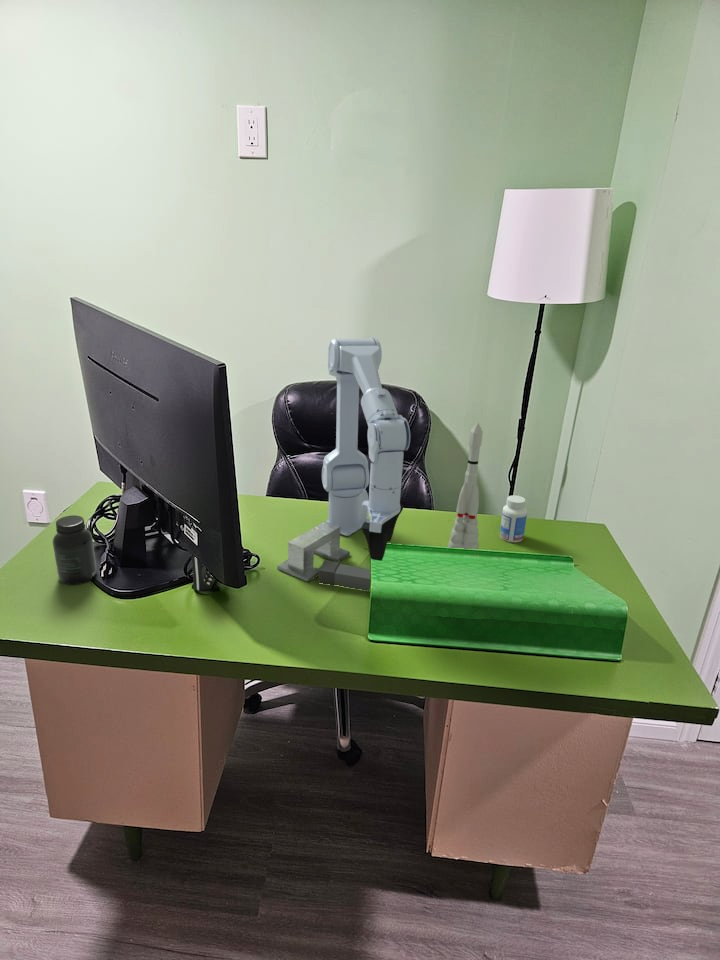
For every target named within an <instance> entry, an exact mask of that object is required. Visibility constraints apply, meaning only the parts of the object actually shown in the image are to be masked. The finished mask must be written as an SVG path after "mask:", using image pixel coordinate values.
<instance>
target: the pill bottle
mask: <svg viewBox="0 0 720 960" xmlns="http://www.w3.org/2000/svg"><path fill="white" fill-rule="evenodd" d="M525 506H526V499H525V497H523V496H521V495H516V494H515V495H509V496H507V498H506V504H505V505H504V506H503V508H502V513H501V519H500V520H501V521H500V527H499V528H500V530H499V537H500V538H501V540H503V541H505V542H508V543H520V542H522V541H523V540H524V536H525V532H526V531H525V530H526V522H527V516H528V510H527V508H526V507H525Z"/></svg>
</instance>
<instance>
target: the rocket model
mask: <svg viewBox="0 0 720 960" xmlns="http://www.w3.org/2000/svg"><path fill="white" fill-rule="evenodd" d="M483 433H484V432H483V430H482V428H481V426H480V423H479V422H477V423H476V424H475V425H474V426H473V427H472V428H471V430H470V433H469V434H470V435H469V442H468V446H469V450H468V460H467V468H466V471H465V474H464V481H463V485H462V487H461V489H460V492H459V496H458V500H457V505H456V510H455V512H456V513H457V514H456V515H457V516H456V517H455V521H454V522H453V527H452V530H451V533H450V535H449V538H450V539H449V541H448V545H447V548H448V547H449V548H464V549H477V550H478V548H479V545H480V544H479V540H478V537H479V535H480V534H479V529H478V525H479V521H478V518H477V517H478V511H479V508H480V507H479V505H480V504H479V503H480V502H479V501H480V499H479V498H480V490H479V487H478V476H479V472H478V467H479V457H480V450H481V445H482V441H483Z"/></svg>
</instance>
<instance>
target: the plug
mask: <svg viewBox="0 0 720 960" xmlns="http://www.w3.org/2000/svg"><path fill="white" fill-rule="evenodd" d="M318 569H319V576H318V584H319V583H323V584H330V585H339V586H344V587H349V588H355V589H362V590H366V591H367V590H368V591H369V589H370V569H371V568H366V567H360V566H353V565H349V564H341V563H340V562H335V561H332V560H328V559H327V560H326V559H325V560H324V561H323V562H322V564H321V566H320V567H319V568H318Z"/></svg>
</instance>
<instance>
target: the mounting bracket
mask: <svg viewBox="0 0 720 960" xmlns="http://www.w3.org/2000/svg"><path fill="white" fill-rule="evenodd" d="M326 521H327V520H325V521H323V522H321V523H320V524H317V525H316V526H314V527H312V528H310V529H309V530H307V531H305V532H303V533H301V534H300V535H298V536H297V537H294V538H293V539H291V540H289V541H288V542H287V559H286V560H285V561H283V562H281V563H279V564H278V565H277V566H276V570H278V571H280V572H282V571H283V573H285V572H286V573H285V574H287V573H288V574H287V575H289V574H290V576H292V577H294V576H295V577H294V578H296V577H297V578H296V579H299V578H300V579H299V580H301V579H302V580H301V581H303V580H304V581H303V582H305V581H310V580H311V581H312V579H313V578H314V579H316V578H317V577H319V576H318V575H319V569H320V568H316V567H315V566H314V563H315V562H314V559H315V558H314V557H315V555H317V556H320V557H322V556H323V558H325V559H327V558H329V559H328V560H330V559H331V560H330V561H332V560H334V561H333V562H335V561H336V562H339V561H340V562H341V561H343V560H345V559H346V558H347V557H349V556H350V554H351V552H350V550H347V549H344V548H342V547H340V546H341V534H340V526H337V525H335V524H332V523H329V522H326ZM342 559H343V560H342ZM340 562H339V563H340ZM316 576H317V577H316ZM315 577H316V578H315ZM314 579H313V580H314ZM311 581H310V582H311Z"/></svg>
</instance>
